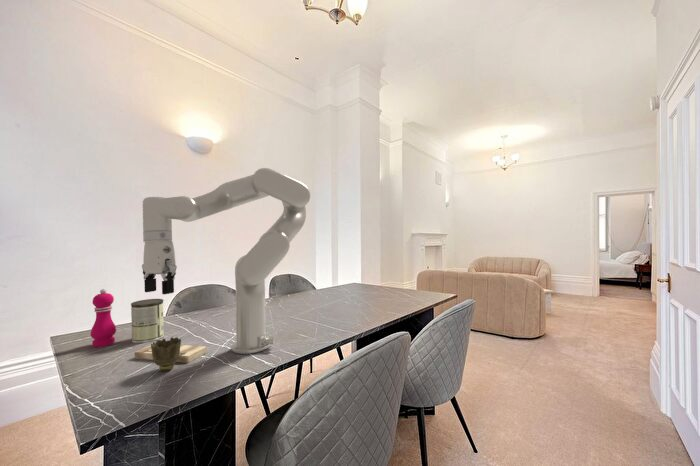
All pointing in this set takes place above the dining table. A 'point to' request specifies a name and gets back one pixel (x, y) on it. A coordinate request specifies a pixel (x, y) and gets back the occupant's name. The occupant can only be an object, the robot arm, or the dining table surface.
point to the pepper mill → (103, 320)
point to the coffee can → (147, 320)
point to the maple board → (185, 353)
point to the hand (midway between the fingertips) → (159, 292)
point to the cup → (166, 353)
